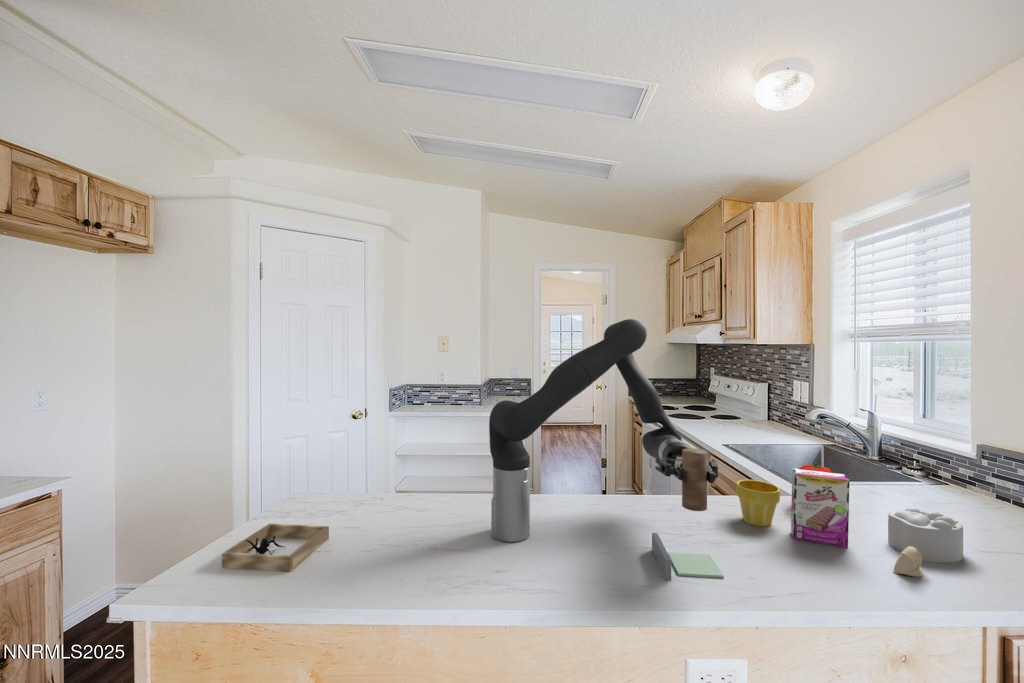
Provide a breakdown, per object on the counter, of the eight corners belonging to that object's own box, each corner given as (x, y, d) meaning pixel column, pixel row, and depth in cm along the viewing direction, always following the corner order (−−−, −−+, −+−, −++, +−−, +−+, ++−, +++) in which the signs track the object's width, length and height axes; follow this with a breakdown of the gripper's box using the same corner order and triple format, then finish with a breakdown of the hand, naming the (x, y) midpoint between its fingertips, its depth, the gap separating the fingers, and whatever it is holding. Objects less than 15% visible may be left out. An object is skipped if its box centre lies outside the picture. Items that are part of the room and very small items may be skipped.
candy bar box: (793, 540, 108) (794, 473, 108) (790, 532, 113) (790, 467, 113) (849, 549, 103) (850, 479, 103) (844, 540, 108) (844, 473, 108)
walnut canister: (685, 510, 94) (686, 454, 94) (679, 501, 99) (679, 448, 98) (710, 511, 93) (710, 454, 93) (702, 502, 98) (702, 448, 98)
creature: (252, 552, 104) (239, 561, 96) (254, 528, 105) (241, 534, 98) (288, 549, 106) (278, 557, 98) (289, 525, 107) (280, 531, 99)
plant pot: (788, 529, 114) (789, 492, 114) (748, 530, 114) (748, 492, 114) (765, 514, 124) (765, 479, 124) (728, 514, 124) (729, 479, 124)
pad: (678, 575, 92) (678, 573, 92) (667, 554, 101) (667, 552, 101) (723, 578, 91) (723, 575, 91) (709, 556, 100) (709, 554, 100)
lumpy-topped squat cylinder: (881, 540, 108) (881, 504, 108) (937, 541, 108) (937, 506, 108) (917, 561, 98) (917, 522, 98) (979, 563, 97) (980, 523, 97)
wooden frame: (221, 567, 95) (221, 553, 95) (269, 535, 110) (269, 523, 110) (290, 571, 93) (290, 557, 93) (328, 538, 109) (328, 526, 109)
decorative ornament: (926, 571, 94) (926, 545, 94) (914, 583, 89) (915, 556, 89) (901, 563, 97) (901, 538, 97) (889, 574, 92) (889, 549, 92)
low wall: (665, 579, 90) (665, 560, 90) (651, 549, 103) (651, 532, 103) (671, 580, 90) (671, 560, 90) (657, 550, 103) (657, 532, 103)
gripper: (647, 440, 111) (663, 459, 94) (707, 442, 109) (734, 461, 92) (647, 470, 111) (663, 494, 94) (706, 472, 109) (734, 497, 92)
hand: (698, 477), depth 93 cm, fingers closed on walnut canister, 5 cm apart
